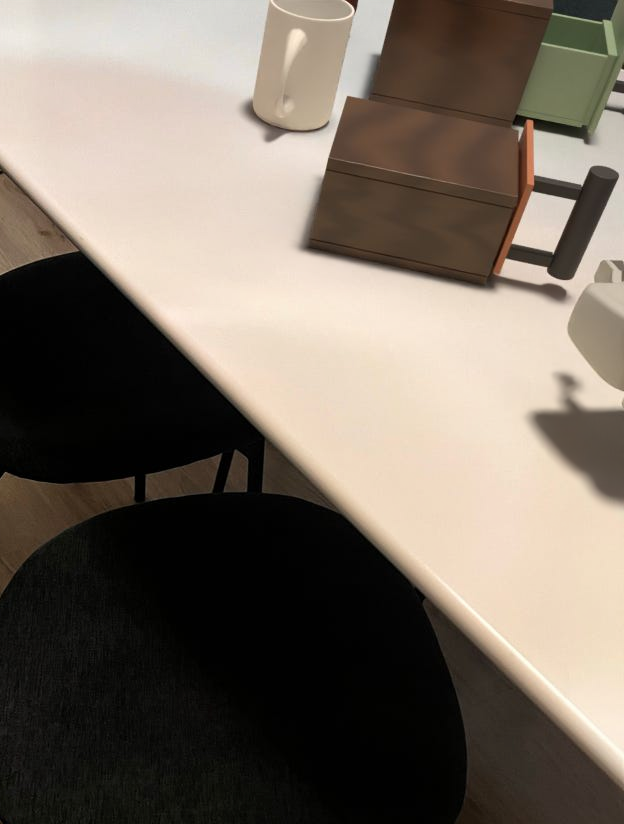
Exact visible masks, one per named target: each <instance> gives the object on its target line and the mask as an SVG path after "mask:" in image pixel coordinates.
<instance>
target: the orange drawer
mask: <svg viewBox="0 0 624 824" xmlns="http://www.w3.org/2000/svg"><path fill="white" fill-rule="evenodd" d="M534 145H535V143H534V120H532V119H526V121H525V123H524V125H523V129H522V131H521V135H520V136H519V152H518V199H517V202H516V204H515V207H514V210H513V212H512V215H511V218H510V220H509V223H508V225H507V228H506V231H505V233H504V236H503V238H502V241H501V244H500V246H499V249H498V251H497V254H496V257H495V259H494V262H493V265H492V273H493V274H495V275H500V274H501V272H502V269H503V266H504V265H505V262H506V260H511V261H515V262H519V263H523V264H530V265H533V266H538V267H542V268H546V273H547V274H548V275H549V276H550V277H552V278H554V279H557V280H559V281H570V280H571V281H572V280H573V279H574V277H575V275H576V274H577V271H578V269H579V267H580V264H581V262H582V260H583V259H584V258H583V257H584V256H585V254H586V251H587V249H588V246H589V245H590V243H591V240H592V238H593V236H594V233H595V231H596V229H597V227H598V225H599V223H600V220H601V218H602V216H603V214H604V211H605V209H606V206H607V205H608V202H609V201H610V198H611V197H612V193H613V191H614V189H615V187H616V185H617V182H618V180H619V178H620V173H619V172H618V171H616V170H615V169H613V168H611V167H609V166H605V165H592V166H591V167H590V168H589V169H588V172H587V174H586V176H585V178H584V181H583V183H582V184H581V183H575V182H571V181H565V180H561V179H557V178H556V179H554V178H551V177H546V176H541V175H536V174H535V155H534V154H535V152H534V151H535V150H534V149H535V148H534V147H535V146H534ZM532 192H533V193H538V194H542V195H548V196H552V197H556V198H560V199H561V198H562V199H565V200H571V201H575V202H574V204H573V207H572V209H571V211H570V214H569V216H568V218H567V221H566V223H565V226H564V228H563V230H562V233H561V234H560V237H559V239H558V242H557V244H556V247H555V249H554V252H553V251H549V250H545V249H540V248H535V247H530V246H527V245H521V244H517V243H513V240H514V238H515V236H516V233H517V231H518V228H519V226H520V223H521V220H522V218H523V215H524V214H525V213H524V212H525V211H526V208H527V206H528V202H529V200H530V198H531V194H532Z"/></svg>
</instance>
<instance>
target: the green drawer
mask: <svg viewBox="0 0 624 824" xmlns="http://www.w3.org/2000/svg"><path fill="white" fill-rule="evenodd" d="M623 65H624V0H617V3H616V6H615V7H614V10H613V13H612V15H611V18H610V20H608V19H602V21H596V20H592V19H586V18H580V17H576V16H570V15H565V14H561V13H556V12H552V15H551V18H550V21H549V24H548V26H547V29H546V32H545V35H544V37H543V40H542V43H541V46H540V49H539V51H538V54H537V57H536V60H535V63H534V65H533V68H532V71H531V74H530V77H529V79H528V82H527V85H526V88H525V90H524V93H523V96H522V99H521V102H520V104H519V107H518V110H517V113H516V115H518V116H522V117H526V118H532V119H538V120H542V121H547V122H553V123H558V124H562V125H567V126H572V127H577V128H582V127H583V126H587V132H588V134H589V135H590V134H591V135H594V134H595V132H596V130H597V128H598V125H599V122H600V120H601V118H602V115H603V114H604V110H605V108H606V106H607V103H608V101H609V98H610V97H611V95H612V92H613V93H619V94H623V95H624V80H619V79H618V77H619V75H620V72H621V70H622V68H623Z"/></svg>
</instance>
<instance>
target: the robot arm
mask: <svg viewBox="0 0 624 824" xmlns="http://www.w3.org/2000/svg"><path fill="white" fill-rule="evenodd" d="M593 281H594V282H591V283H589V284H588V285H586V287H584V289H583V290H582V292H581V294H580V295H579V297H578V299H577V300H576V303H575V304H574V307H573V309H572V311H571V314H570V316H569V319H568V322H567V327H566V329H567V330H566V331H567V335H568V338H570V341H571V343H572V344H573V345H574V346H575V348H576V350H577V351H578V352H579V354H580V355H581V356H582V357H583V359H584V360H585V362H587V364H588V365H589V366H590V368H591V369H592V370H593V371H594V372H595V373H596V374H597V376H599V378H600V379H602V381H604V382H605V383H606V384H608V386H610V387H613V388H614V389H615V390H619V391H620V392H624V261H623V260H619V259H618V260H617V259H603V260H601V261H600V262H599V265H598V266H597V268H596V271H595V273H594V276H593ZM621 406H622V408H623V409H624V397H623V398H622V401H621Z"/></svg>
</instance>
